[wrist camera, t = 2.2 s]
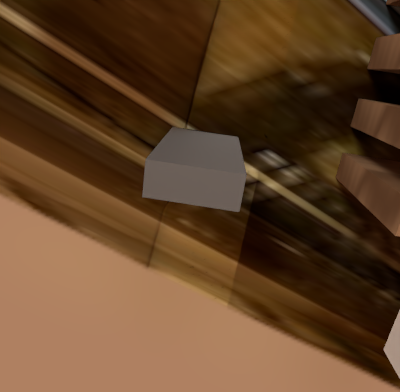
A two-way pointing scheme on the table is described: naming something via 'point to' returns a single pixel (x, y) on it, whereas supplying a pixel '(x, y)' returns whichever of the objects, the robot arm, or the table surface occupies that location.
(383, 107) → the walnut domino
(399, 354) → the robot arm
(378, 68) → the walnut domino
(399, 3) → the walnut domino
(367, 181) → the walnut domino
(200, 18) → the table surface
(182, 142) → the charcoal domino
